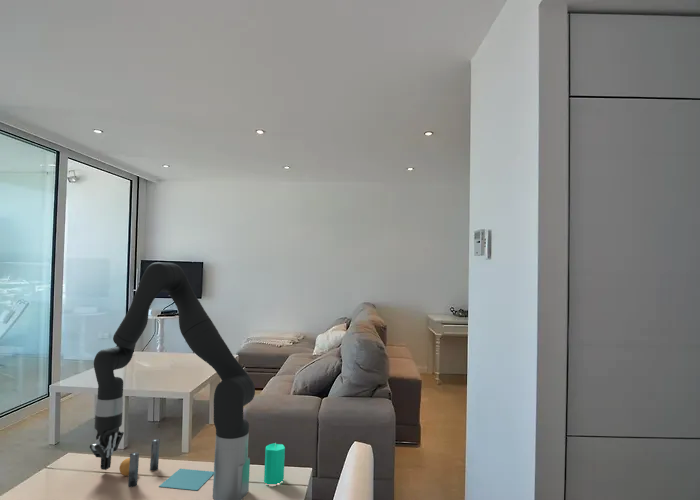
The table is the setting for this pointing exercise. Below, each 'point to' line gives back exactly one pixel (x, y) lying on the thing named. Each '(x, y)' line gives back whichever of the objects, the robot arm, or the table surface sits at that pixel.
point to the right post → (154, 454)
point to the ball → (125, 467)
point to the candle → (274, 463)
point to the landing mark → (187, 479)
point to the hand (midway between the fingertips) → (105, 468)
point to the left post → (133, 469)
